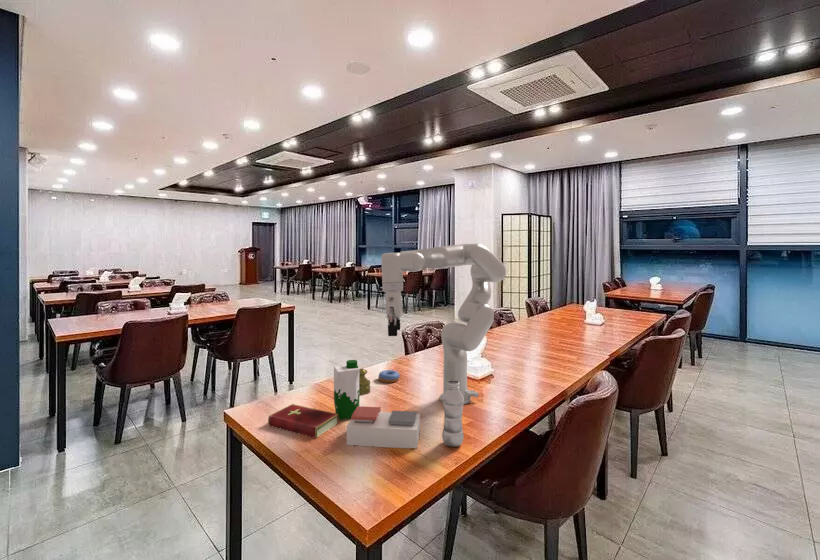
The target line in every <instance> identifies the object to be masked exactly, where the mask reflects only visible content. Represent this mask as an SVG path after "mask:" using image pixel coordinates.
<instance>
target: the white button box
mask: <svg viewBox="0 0 820 560" xmlns="http://www.w3.org/2000/svg"><path fill="white" fill-rule="evenodd" d="M391 414H392V412H390V411H380V413H379V415H378V418H377V420H376V421H375V422H374V423H356V420H352V419H351V418H350V420H349V422H348V424H347V425H346V446H353V445H356V447H357V445H358V447H372V446H374V448H376V447H377V448H392V449H393V448H395V449H410V448H415V449H414V450H417V449H418V444H419V440H420V439H419V438H420V434H419V433H420V432H421V413H418V412H417V415H416V419H415V424H414V425H395V424H389V419H390V416H391Z"/></svg>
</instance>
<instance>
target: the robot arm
mask: <svg viewBox="0 0 820 560" xmlns="http://www.w3.org/2000/svg"><path fill="white" fill-rule="evenodd" d="M380 260H381V280H382V281H381V283H382V292H385V312H386V313H385V314H386V318H387V336H388V337H397V336H398V331H400V330H401V317H402V316H403V302H402V292H403V291H404V279H403V278H404V276H403V275H404V272H409V273H411V272H412V273H415V272H420V271H421V270H422V269H447V268H449V269H450V268H453V267H455V268H456V267H461V266H470V271H469V272H470V276H471V282H472V283H471V284H472V287H471V289H470V292H469V293H468V295H467V296H466V297H465V299H464V301H463V303H462V304H461V306H460V307H459V309H458V312H457V317H458V320H459V321H460V322H461V323H460V322H454V321H451V322H448V323H447V324H445V325H443V328H442V329H441V334H440V335H441V343H442V349H443V351H442V352H443V370H442V371H443V376H442V377H443V381H442V382H443V385H442V386H443V388H442V389H443V391H442V393H440V395H439V401H441V402H442V403H443V396H444V394H445V392H446V391H447V390H448V388H447V382H448V381H449V380H456V381H459V386H460V388H459V390H460V392H461V393H462V395H463V397H464V404H463V405H467V404H468V403H470V402H471V399H472V398H478V397H479V392H478V391H476V390H470V389H469V388H468V354H467V352H473V351H474V350H476V349H477V348H478V347H479V346H480V345H481V343H482V341H483V339H484V338H485V336H486V335H487V333H488V332H489V330H490V329H491V327H492V325H493V322H494V319H495V314H494V313H495V312H494V309H493V308H492V307H491V306H490V305H489V304H488V303H489V301H490V299H491V298H492V288H491V283H500V282H501V281H503V280H504V279H505V277H506V274H507V270H506V269H507V268H506V267H505V264H504V263H503V262H502V261H501V259H499V258H498V257H497V256H496V255H495V254H494V253H493V252H492V251H491V250H489V248H488V247H486V246H485V245H483V244H481V243H462V244H454V245H444V246H443V245H442V246H435V247H429V248H423V249H414V250H405V251H404V250H403V251H400V252H385V253H383V254H381V258H380ZM463 323H464V324H463ZM471 397H472V398H471Z"/></svg>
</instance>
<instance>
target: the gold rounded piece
mask: <svg viewBox="0 0 820 560" xmlns="http://www.w3.org/2000/svg"><path fill="white" fill-rule="evenodd" d="M359 369H360V371H359V395H366V394H368V393H370V392H371V381H370V379H369V378H368V377H366V375H367V373H368V370H367V369H364V368H359Z"/></svg>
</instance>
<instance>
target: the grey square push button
mask: <svg viewBox="0 0 820 560" xmlns="http://www.w3.org/2000/svg"><path fill="white" fill-rule="evenodd" d="M417 413H418V412H417V411H414V410H413V411H412V410H410V411H409V410H392V414H391V416H390V419H389V424H395V425H414V424H415V419H416V415H417Z"/></svg>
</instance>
